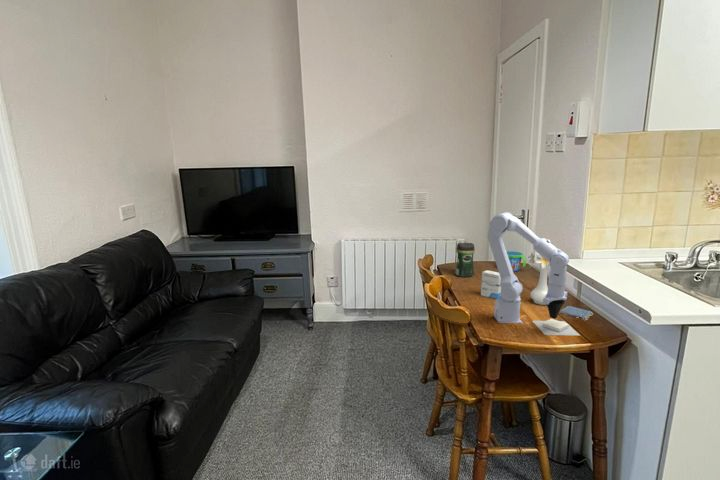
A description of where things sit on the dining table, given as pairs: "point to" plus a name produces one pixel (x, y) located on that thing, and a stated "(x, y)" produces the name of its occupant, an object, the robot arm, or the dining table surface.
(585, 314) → the woven mat
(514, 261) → the snack cup
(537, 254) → the flower vase
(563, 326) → the tile
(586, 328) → the dining table surface
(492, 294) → the ink box
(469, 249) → the coffee jar
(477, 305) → the dining table surface
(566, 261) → the robot arm
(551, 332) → the felt pad
